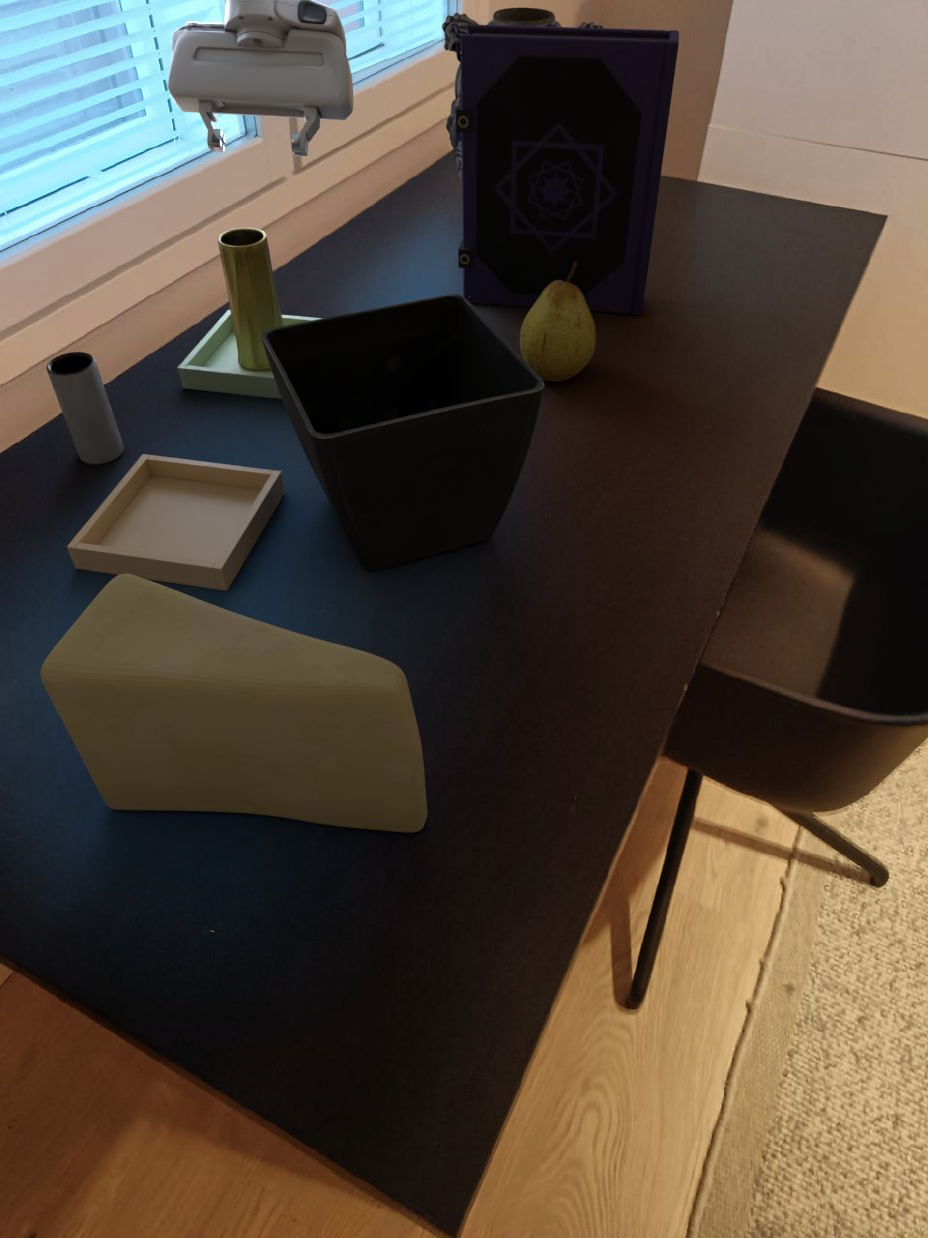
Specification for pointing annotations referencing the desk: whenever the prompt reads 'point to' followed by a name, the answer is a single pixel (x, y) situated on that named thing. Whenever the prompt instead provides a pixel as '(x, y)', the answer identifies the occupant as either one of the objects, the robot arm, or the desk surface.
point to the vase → (250, 292)
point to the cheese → (234, 714)
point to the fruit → (558, 332)
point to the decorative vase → (453, 43)
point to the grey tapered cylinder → (85, 407)
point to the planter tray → (179, 522)
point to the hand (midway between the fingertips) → (257, 151)
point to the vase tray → (227, 363)
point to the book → (562, 160)
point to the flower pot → (408, 422)
